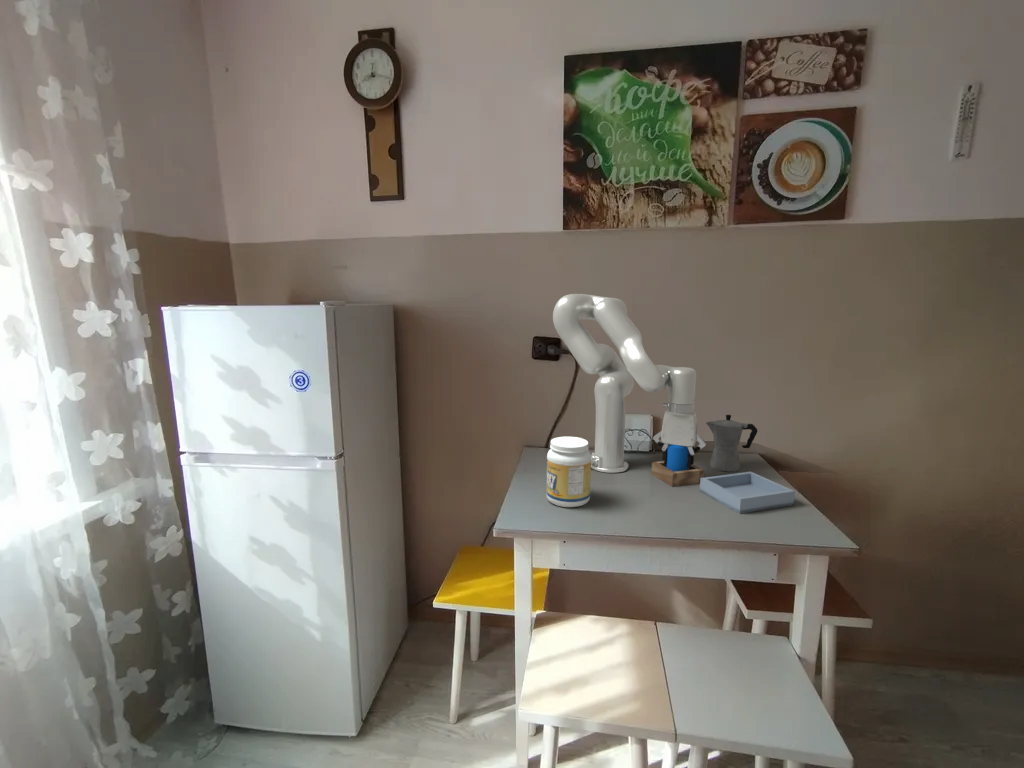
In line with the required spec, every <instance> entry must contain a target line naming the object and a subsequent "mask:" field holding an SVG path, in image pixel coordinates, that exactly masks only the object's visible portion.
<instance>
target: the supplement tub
mask: <svg viewBox="0 0 1024 768" xmlns="http://www.w3.org/2000/svg"><path fill="white" fill-rule="evenodd" d="M589 447H590V446H589V441H588V440H587V439H584V438H583V437H577V436H559V437H554V438H552V439H551V440H550V446H549V448H550V449H548V452H547V453H546V454H547V455H546V492H545V493H546V494H545V495H546V499H547V500H548V502H550V503H551V504H553V505H555V506H557V507H562V508H576V507H582V506H584V505H586V504H587V503H588V502H589V501H590V498H591V483H592V482H591V481H592V480H591V479H592V478H591V476H592V468H591V459H592V458H591V455H592V453H591V451H589Z"/></svg>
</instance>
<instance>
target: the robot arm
mask: <svg viewBox="0 0 1024 768" xmlns="http://www.w3.org/2000/svg"><path fill="white" fill-rule="evenodd" d="M580 320H588V321H594V322H597V323H598V325H599V326H600V327H601V329H602V330H603V331H604V333H605V334H606V335H607V337H609V339H610V340H611V342H612V343H613V345H615V347H616V349H617V350H618V352H619V355H620V356H619V355H618V354H617V352H616V351H615V350H614V349H613V348H612V347H611V346H610V345H608V344H606V343H597V342H596V341H595V339H594V338H593V336H592V335H591V333H590V332H589V330H588V329H587V328H586V327H585V326H584V325H583V324H582V323H581V321H580ZM552 323H553V326H554V328H555V331H556V332H557V334H558V336H559V337H560V339H561V340H562V342H563V343H564V344H565V346H566V347H567V348H568V350H569V352H570V353H571V355H572V356H573V358H574V359H575V361H576V362H577V364H578V365H579V366H580V368H581V369H582V371H583V372H584V373H586V374H588V375H596V374H598V376H599V377H598V379H597V380H596V382H595V384H594V385H595V386H594V392H593V393H594V394H593V395H594V402H595V433H594V434H595V435H594V436H595V437H594V452H591V458H592V459H591V469H592V470H595V471H598V472H600V473H609V474H610V473H611V474H615V473H622V472H625V471H627V470H628V469H629V463H628V462H627V461H625V438H626V437H625V436H626V434H625V433H626V404H625V397H627V396H628V395H630V393H631V392H632V391H633V390H634V386H635V382H636V383H637V384H638V386H639V387H640V389H643V391H645V392H648V393H653V394H654V393H657V392H660V391H661V390H663V389H668V401H667V402H663V403H662V404H663V405H662V406H663V408H666V409H667V410H665V411H664V415H663V419H662V424H661V425H662V426H661V431H659V432H658V433H656V434H655V435H654V436H653V437H652V439H653V441H654V442H655V443H656V444H657V446H658V447H659V448H660V449H661V451H662V458H661V459H662V461H664V464H667V447H668V444H669V445H680V446H684V447H688V449H689V455H688V467H689V468H690V467H691V464H693V465H694V462H695V461H694V460H695V454H696V453H699V451H700V450H702V449H703V448H705V447H706V445H707V442H706V441H705V440H704V439H703V438H702V437H701V436H700V435H699V434H698V419H697V413H696V412H695V399H696V398H695V397H696V382H697V372H696V370H695V369H694V368H692V367H688V366H687V367H685V366H677V367H676V366H670V365H665V364H655V363H654V362H653V361H652V359H651V358H650V357H649V356H648V353H647V352H646V350H645V349H644V345H643V337H642V333H641V331H640V330H639V329H638V327H637V326H636V324H634V323H633V321H632V320H631V319H630V317H629V316H628V307H627V305H626V303H625V302H624V301H623V300H622V299H619V298H616V297H606V296H599V295H593V294H585V293H570V294H565V295H564V296H562V297H560V298H559V300H558V301H557V302H556V304H555V305H554V308H553V311H552ZM620 357H621V358H620ZM621 359H622V360H621ZM697 442H698V445H697V446H695V445H696V444H697Z"/></svg>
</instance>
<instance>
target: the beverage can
mask: <svg viewBox="0 0 1024 768" xmlns="http://www.w3.org/2000/svg"><path fill="white" fill-rule="evenodd" d="M688 455H689V449H688V447H684V446H680V445H669V444H668V447H667V465H666V468H668V469H670V470H672V471H674V472H676V471H684V470H688Z"/></svg>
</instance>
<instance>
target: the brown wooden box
mask: <svg viewBox="0 0 1024 768" xmlns="http://www.w3.org/2000/svg"><path fill="white" fill-rule="evenodd" d="M666 465H667V464H664V460H662V461H653V462H652V461H651V476H653V475H654V476H653V477H654V478H657V479H659V480H660V481H662V482H664V483H665V484H666V485H669V486H670V487H679V486H680V485H681V486H686V485H687V486H688V485H695V484H700V479H701V478H704V475H705V470H704V469H703V468H701V467H699V466H697V465H694V463H693V464H691V467H690V468H689V467H688V470H684V471H676V472H674V471H672V470H670V469H668V468H666Z"/></svg>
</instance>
